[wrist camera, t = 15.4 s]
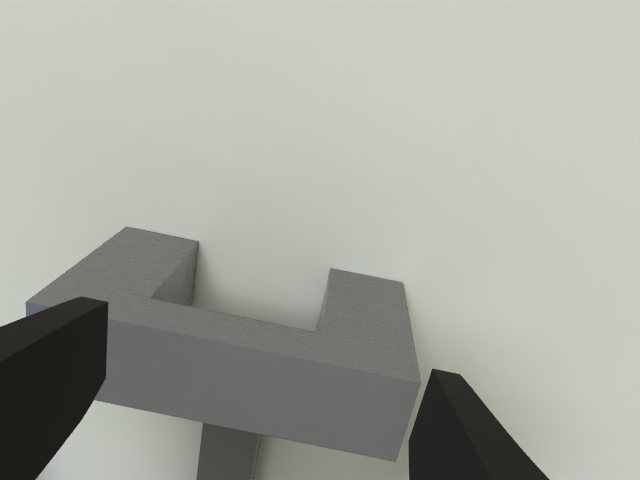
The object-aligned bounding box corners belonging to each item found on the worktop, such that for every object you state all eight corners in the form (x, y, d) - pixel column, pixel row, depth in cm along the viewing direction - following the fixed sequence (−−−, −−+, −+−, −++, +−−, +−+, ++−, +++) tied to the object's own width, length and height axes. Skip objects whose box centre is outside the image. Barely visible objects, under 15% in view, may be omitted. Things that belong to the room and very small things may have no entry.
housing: (385, 344, 21) (395, 461, 15) (123, 291, 21) (28, 386, 15) (402, 282, 20) (420, 382, 14) (126, 226, 20) (25, 301, 14)
